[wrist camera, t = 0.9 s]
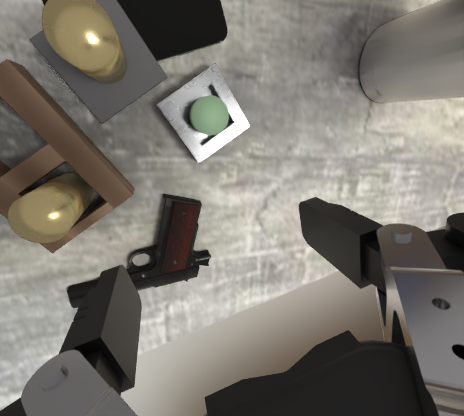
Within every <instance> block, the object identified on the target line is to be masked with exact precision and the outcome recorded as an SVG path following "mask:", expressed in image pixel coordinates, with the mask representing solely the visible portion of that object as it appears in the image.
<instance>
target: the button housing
mask: <svg viewBox="0 0 464 416" xmlns="http://www.w3.org/2000/svg"><path fill="white" fill-rule="evenodd" d="M207 95H213V96H216V97H218V98H220V99H221V100H222V101H223V102H224V103H225V104H226V106H227V109H228V112H229V119H228V123H227V125H226V127H225V129H224V130H223V131H222V132H220V133H219V134H216V135H206V134H202V133H200V132H198V131H197V130H196V129H195V128H194V127H193V126H192V124H191V122H190V118H189V112H190V108H191V106H192V104H193V103H194V102H195V101H196V100H197V99H199V98H201V97H203V96H207ZM157 107H158V108H159V109H160V111H161V112H162V114H163V115H164V116H165V118H166V119H167V121H168V122H169V123H170V125H171V126H172V128H173V129H174V130H175V132H176V133H177V135H178V136H179V137H180V139H181V140H182V141H183V143H184V144H185V146H186V147H187V148H188V150H189V151H190V153H191V154H192V155H193V157H194V158H195V160H196V161H197V162H198V163H200V162H202V161H203V160H204V159H206V158H207V157H209V156H210V155H211V154H213V153H214V152H215V151H217V150H218V149H220V148H221V147H222V146H224V145H225V144H226V143H228V142H229V141H231V140H232V139H233V138H235V137H236V136H237V135H239V134H240V133H242V132H243V131H244V130H246V129H247V128H248V127H250V125H249V123H248V121H247V120H246V118H245V116H244V114H243V112H242V111H241V109H240V107H239V105H238V103H237V101H236V100H235V98H234V96H233V94H232V92H231V91H230V89H229V87H228V85H227V83H226V82H225V80H224V78H223V76H222V74H221V73H220V71H219V69H218V67H217V65H216V64H213V65H212V66H211V67H209V68H208V69H206V70H205V71H203V72H202V73H201V74H199V75H198V76H196V77H195V78H194V79H192V80H191V81H189V82H188V83H187V84H185V85H184V86H182V87H181V88H180V89H178V90H177V91H175V92H174V93H172V94H171V95H170V96H168V97H167V98H165V99H164V100H163V101H161V102H160V103H158V104H157Z"/></svg>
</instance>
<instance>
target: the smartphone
mask: <svg viewBox="0 0 464 416" xmlns="http://www.w3.org/2000/svg"><path fill="white" fill-rule="evenodd" d="M42 1H43V3H44V5H45V4H46V3H47V1H48V0H42ZM117 2H118V3H119V5H120V6H121V8H122V9H123V11H124V12H125V14H126V15H127V17H128V18H129V20H130V21H131V23H132V24H133V26H134V27H135V29H136V30H137V32H138V34H139V35H140V37H141V38H142V40H143V41H144V43H145V44H146V46H147V47H148V49H149V50H150V52H151V53H152V55H153V56H154V58H155V59H156V61H161V60H164V59H167V58H171V57H174V56H177V55H178V56H180V55H183V54H186V53H190V52H193V51H194V50H198V49H201V48H204V47H208V46H211V45H215V44H218V43H221V42H222V41H224V39H225V38H226V36H227V25H226V21H225V17H224V13H223V9H222V5H221V1H220V0H117Z"/></svg>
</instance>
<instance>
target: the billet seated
mask: <svg viewBox="0 0 464 416" xmlns="http://www.w3.org/2000/svg"><path fill="white" fill-rule="evenodd" d="M93 198H94V189H93V188H92V187H91V186H90V185H89V184H88V183H87V182H86V181H85V180H84V179H83V178H82V177H81V176H80V175H79V174H77V173H63V174H60V175H58V176H57V177H55V178H53V179H52V180H50V181H48V182H46V183H45V184H43V185H41V186H39V187H38V188H36V189H34V190H33V191H31V192H29V193H27V194H26V195H24V196H22V197H21V198H19V199H17V200H16V201H15V202H14V203H13V204H12V205H11V207H10V208H9V211H8V221H9V224H10V226H11V228H12V229H13V230H14V232H15V233H17V234H18V235H19V236H20V237H22V238H24V239H26V240H28V241H31V242H35V243H51V242H54V241H57V240H59V239H61V238H63V237H64V236H65V235H66V234H67V233H68V232H69V230H70V229H71V228H72V226H73V225H74V224H75V222H76V221H77V220H78V219H79V217H80V216H81V215H82V213H83V212H84V211H85V209H86V208H87V207H88V205H89V204H90V203H91V201H92V200H93Z"/></svg>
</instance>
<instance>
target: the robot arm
mask: <svg viewBox="0 0 464 416" xmlns="http://www.w3.org/2000/svg"><path fill="white" fill-rule="evenodd" d="M359 71H360V81H361V85H362V88H363V90H364V92H365V94H366V95H367V96H368V97H369V98H370V99H371V100H372V101H375V102H377V103H390V102H404V101H419V100H433V99H447V98H460V97H464V0H440V1H438V2H436V3H433V4H431V5H428V6H426V7H423V8H421V9H418V10H416V11H414V12H411V13H409V14H406V15H404V16H402V17H399V18H397V19H395V20H392V21H390V22H387V23H385V24H383V25H382V26H380V27H379V28H377V29H376V30H375V32H374V33H373V34H372V35H371V36H370V38H369V39H368V41H367V43H366V45H365V47H364V49H363V52H362V56H361V60H360V68H359ZM299 212H300V220H301V227H302V233H303V237H304V239H305V241H306V242H307V243H308V244H309V245H310V246H311V247H312V248H313V249H315V250H316V251H317V252H318V253H319V254H320V255H322V256H323V257H324V258H325V259H326V260H327V261H329V262H330V263H331V264H332V265H333V266H335V267H336V268H337V269H338V270H339V271H341V272H342V273H343V274H344V275H345V276H346V277H347V278H349V279H350V280H351V281H352V282H353V283H355V284H356V285H357V286H358V287H359V288H363V287H366V286H368V285H370V284H373V285H375V286H376V297H377V303H378V308H379V314H380V318H381V324H382V330H383V335H384V341H375V340H366V341H358V340H357V339H356V338H355V337H354V336H353V335H352V334H351V332H350V331H346V332H344V333H341V334H339V335H337V336H335V337H333V338H331V339H329V340H326V341H324V342H322V343H320V344H318V345H316V346H315V347H314V348H312V349H311V350H310V351H309V352H308V353H307V354H306V355H305V356H303V357H302V358H301V359H300V360H299V361H298V362H297V363H296V364H294V365H293V366H292V367H291V368H290V369H289V370H287V371H286V372H283V373H278V374H272V375H267V376H261V377H254V378H249V379H243V380H241V381H239V382H236V383H234V384H232V385H230V386H228V387H226V388H224V389H221V390H219V391H217V392H215V393H213V394H211V395H209V396H207V397H205V403H206V409H207V413H206V414H205V415H204V416H464V213H457V214H453V215H451V216H449V217H448V218H447V222H446V228H445V229H443V230H436V231H430V232H425V231H424V230H422V229H420V228H418V227H416V226H412V225H408V224H388V225H384V226H383V225H381V224H379V223H377V222H375V221H373V220H371V219H369V218H367V217H364V216H362V215H360V214H359V215H358V213H356V212H354V211H351V210H350V209H348V208H346V207H344V206H342V205H337V204H332V203H327V202H325V201H323V200H321V199H319V198H317V197H314V198H311V199H308V200H306V201H303V202H300V204H299ZM141 309H142V306H141V300H140V296H139V294H138V292H137V290H136V288H135V286H134V284H133V282H132V280H131V278H130V276H129V274H128V272H127V270H126V269H125V267H124V266H123V265H119V266H117V267H114V268H111V269H108V270H105V271H103V272H101V275H100V277H99V280H98V283H97V285H96V287H94V288H91V289H90V291H89V292H88V293H87V294H86V295H85V297H84V298H83V299H82V301H81V303H80V305H79V308H78V310H77V311H78V312H77V313H76V315H75V317H74V319H73V320H74V322H72V324H71V326H70V329H69V331H68V333H67V336H66V338H65V340H64V343H63V345H62V348H61V350H60V352H59V354H58V355H57V356H55V357H53V358H52V359H50V360H49V361H47V362H46V363H45V364H44V365H42V366H41V367H40V368H39V369H38V370H37V371H36V372H35V373H34V375H33V376H32V377H31V378H30V380H29V381H28V382H27V384H26V386H25V388H24V390H23V392H22V395H21V398H19V399H18V400H16V401H15V402H13V403H12V404H10V405H9V406H7V407H6V408H4V409H3V410H1V411H0V416H137V415H136V414H135V412H134V411H133V410H132V409H131V408H130V407H129V406H128V404H127V403H126V402H125V401H124V400H123V399H122V398H121V396H120V395H121V392H124V391H125V390H128V389H131V388H132V387H134V384H135V373H136V362H137V352H138V341H139V330H140V320H141Z"/></svg>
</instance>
